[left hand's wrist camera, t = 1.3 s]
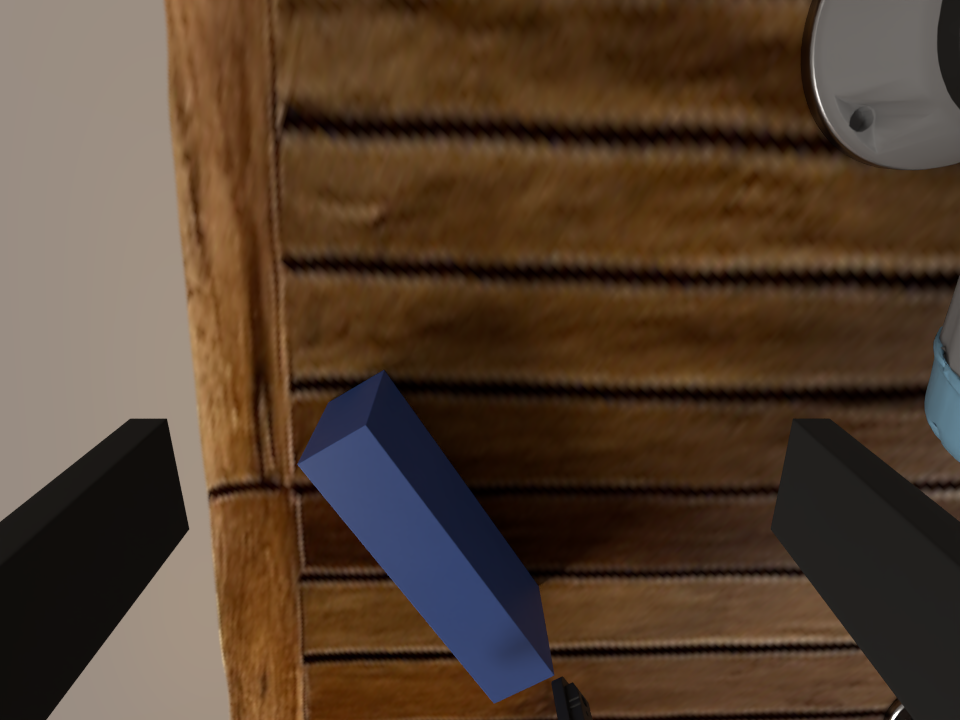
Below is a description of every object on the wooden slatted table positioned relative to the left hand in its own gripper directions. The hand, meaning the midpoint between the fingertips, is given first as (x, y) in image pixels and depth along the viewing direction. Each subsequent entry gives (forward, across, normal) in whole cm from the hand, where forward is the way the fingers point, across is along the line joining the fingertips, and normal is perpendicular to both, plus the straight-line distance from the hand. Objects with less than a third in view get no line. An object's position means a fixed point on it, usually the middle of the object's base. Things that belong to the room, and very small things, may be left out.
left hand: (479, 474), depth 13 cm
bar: (+28, -3, -19) cm, 34 cm away
